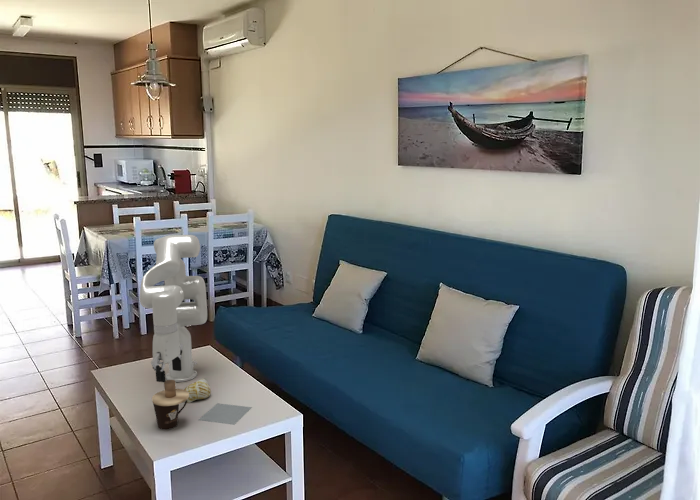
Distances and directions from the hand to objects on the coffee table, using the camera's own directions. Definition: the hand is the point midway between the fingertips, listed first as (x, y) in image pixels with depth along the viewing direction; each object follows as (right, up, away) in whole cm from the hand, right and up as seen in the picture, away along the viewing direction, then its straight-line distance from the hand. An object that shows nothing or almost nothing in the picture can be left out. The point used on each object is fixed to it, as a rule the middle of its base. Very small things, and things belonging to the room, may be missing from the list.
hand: (169, 375), depth 200 cm
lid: (0, -8, +1) cm, 8 cm away
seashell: (+3, -14, +24) cm, 28 cm away
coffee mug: (0, -18, +3) cm, 18 cm away
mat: (+17, -16, +10) cm, 26 cm away
